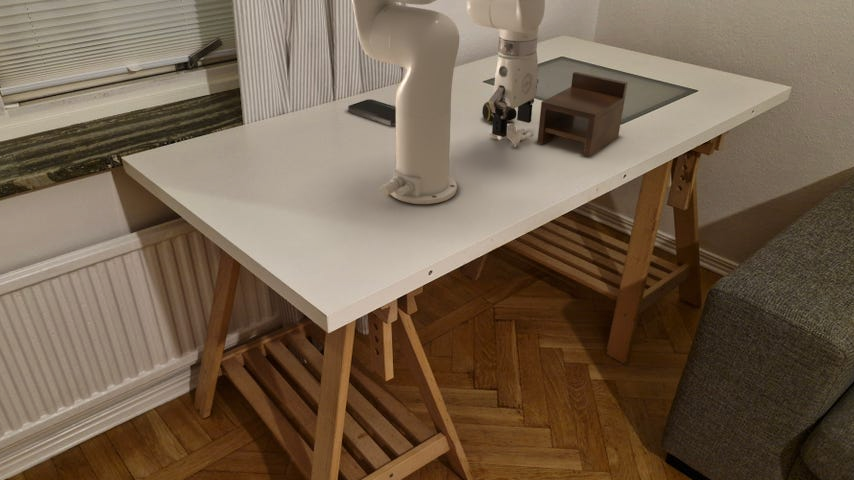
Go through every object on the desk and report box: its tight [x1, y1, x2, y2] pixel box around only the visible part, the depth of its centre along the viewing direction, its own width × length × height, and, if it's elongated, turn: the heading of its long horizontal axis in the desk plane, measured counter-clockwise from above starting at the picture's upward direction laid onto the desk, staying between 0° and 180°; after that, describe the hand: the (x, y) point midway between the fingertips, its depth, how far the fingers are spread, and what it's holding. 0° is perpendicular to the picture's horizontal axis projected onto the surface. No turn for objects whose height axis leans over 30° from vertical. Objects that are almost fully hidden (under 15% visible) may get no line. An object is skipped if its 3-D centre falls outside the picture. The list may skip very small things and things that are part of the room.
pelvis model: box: [489, 122, 534, 148], centre depth 146 cm, size 8×4×7 cm
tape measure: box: [481, 100, 518, 123], centre depth 157 cm, size 7×7×4 cm
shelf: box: [536, 71, 628, 158], centre depth 145 cm, size 14×12×12 cm
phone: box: [347, 98, 396, 127], centre depth 160 cm, size 8×1×15 cm
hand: (511, 128), depth 146 cm, fingers open, 9 cm apart
